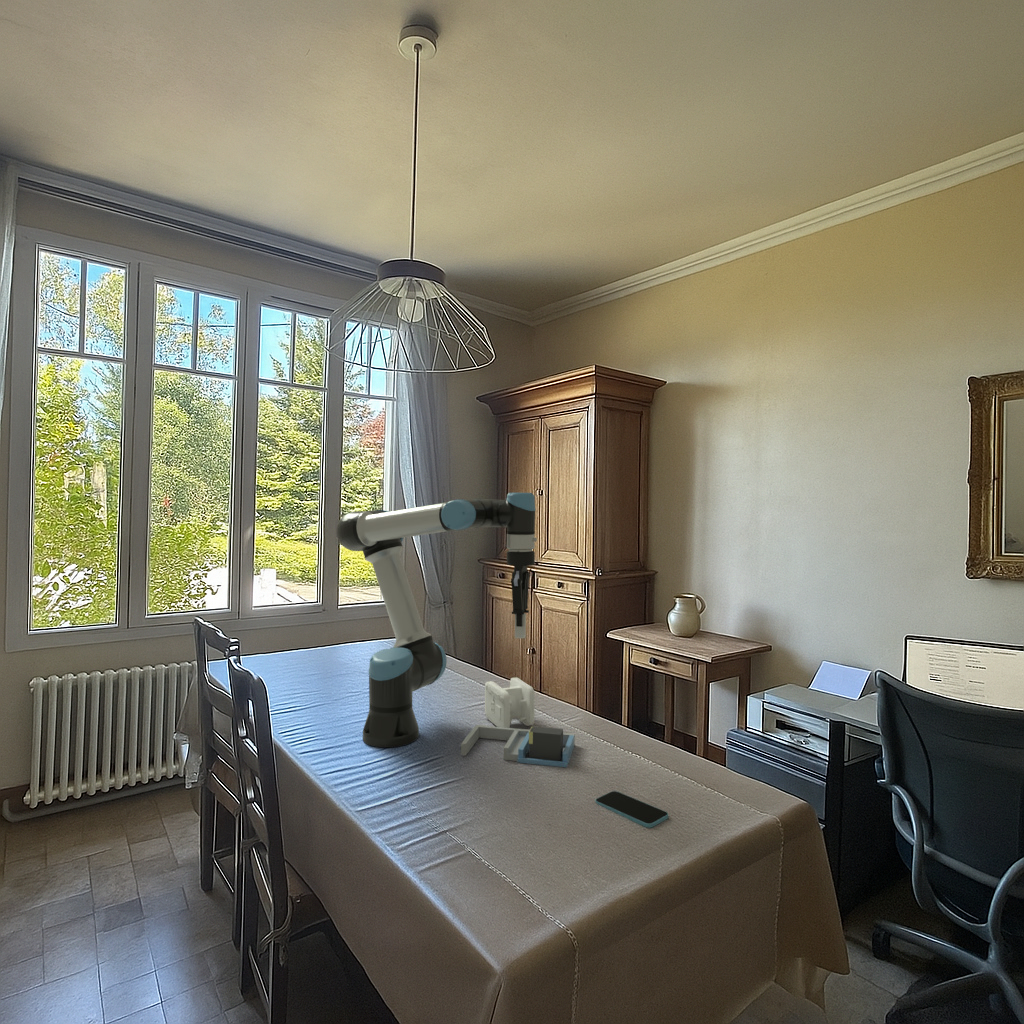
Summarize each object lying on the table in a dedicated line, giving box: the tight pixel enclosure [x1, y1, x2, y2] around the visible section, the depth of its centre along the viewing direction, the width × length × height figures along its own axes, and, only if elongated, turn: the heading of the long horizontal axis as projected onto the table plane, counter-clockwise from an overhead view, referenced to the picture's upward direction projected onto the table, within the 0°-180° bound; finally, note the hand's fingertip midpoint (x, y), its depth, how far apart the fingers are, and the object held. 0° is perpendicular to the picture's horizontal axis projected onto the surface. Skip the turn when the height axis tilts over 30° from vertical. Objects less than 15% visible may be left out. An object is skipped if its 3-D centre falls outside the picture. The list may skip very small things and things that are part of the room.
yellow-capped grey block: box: [528, 725, 564, 761], centre depth 164 cm, size 8×4×7 cm, turn 77°
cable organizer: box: [484, 676, 536, 728], centre depth 188 cm, size 15×11×12 cm
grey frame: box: [460, 724, 576, 768], centre depth 169 cm, size 27×14×3 cm, turn 77°
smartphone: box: [594, 790, 669, 829], centre depth 138 cm, size 7×1×15 cm
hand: (520, 637), depth 173 cm, fingers closed
